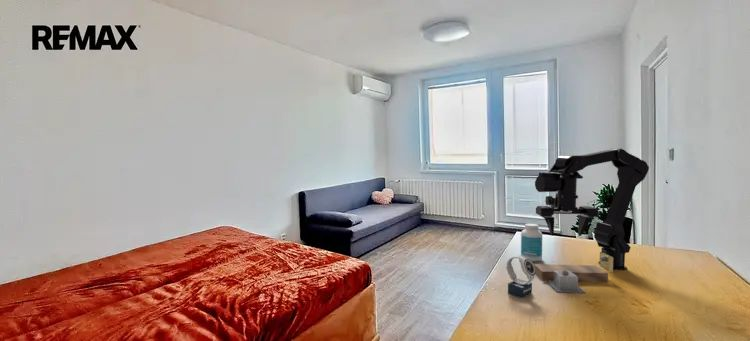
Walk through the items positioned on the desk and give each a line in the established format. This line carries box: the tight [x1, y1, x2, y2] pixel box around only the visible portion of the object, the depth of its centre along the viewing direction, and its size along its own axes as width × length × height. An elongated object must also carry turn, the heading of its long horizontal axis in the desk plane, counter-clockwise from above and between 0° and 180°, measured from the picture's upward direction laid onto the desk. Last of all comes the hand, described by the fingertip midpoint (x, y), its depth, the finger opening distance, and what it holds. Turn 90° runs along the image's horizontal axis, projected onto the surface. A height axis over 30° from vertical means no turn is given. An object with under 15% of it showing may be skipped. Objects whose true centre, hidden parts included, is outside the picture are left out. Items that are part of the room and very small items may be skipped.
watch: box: [505, 255, 536, 299], centre depth 99 cm, size 6×8×11 cm
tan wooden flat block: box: [599, 252, 614, 273], centre depth 109 cm, size 2×5×5 cm, turn 174°
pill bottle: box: [520, 223, 543, 263], centre depth 129 cm, size 8×7×14 cm
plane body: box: [533, 263, 609, 283], centre depth 111 cm, size 20×7×3 cm, turn 84°
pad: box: [545, 281, 586, 294], centre depth 103 cm, size 8×8×1 cm
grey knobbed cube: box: [553, 270, 579, 290], centre depth 103 cm, size 5×5×5 cm
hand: (565, 235), depth 118 cm, fingers open, 9 cm apart
